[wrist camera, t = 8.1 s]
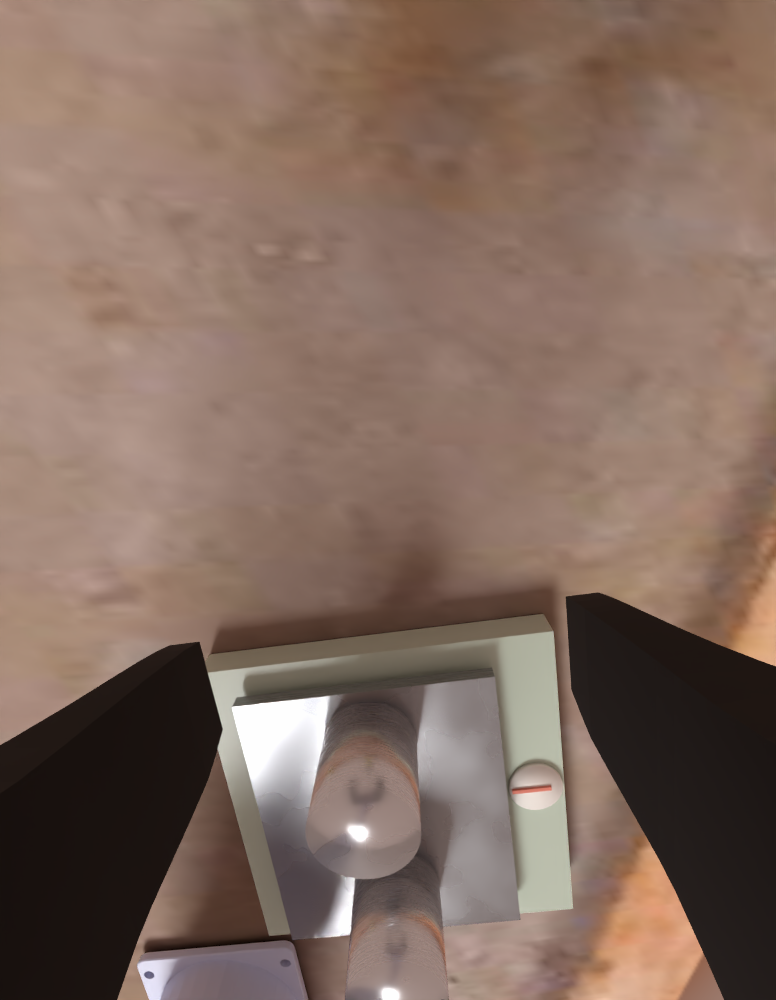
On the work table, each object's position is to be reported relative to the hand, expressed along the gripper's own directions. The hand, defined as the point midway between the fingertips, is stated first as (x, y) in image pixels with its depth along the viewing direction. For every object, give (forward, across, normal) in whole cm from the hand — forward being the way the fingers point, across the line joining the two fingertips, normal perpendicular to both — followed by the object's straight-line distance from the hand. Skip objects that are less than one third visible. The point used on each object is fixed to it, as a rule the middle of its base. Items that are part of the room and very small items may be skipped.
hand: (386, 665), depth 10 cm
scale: (+10, +2, +12) cm, 16 cm away
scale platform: (+9, +2, +12) cm, 15 cm away
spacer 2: (+8, +2, +16) cm, 17 cm away
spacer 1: (+8, +2, +8) cm, 11 cm away
